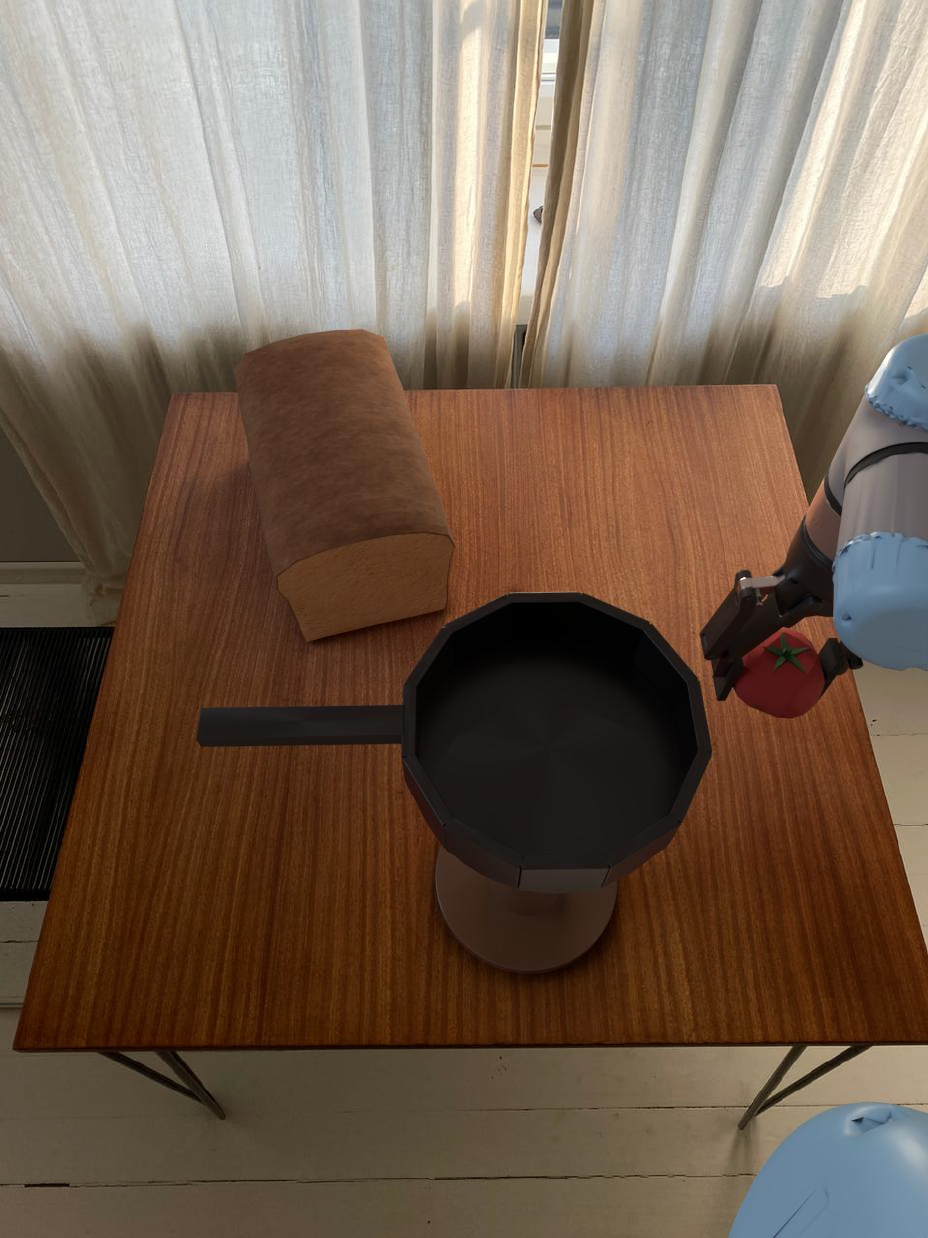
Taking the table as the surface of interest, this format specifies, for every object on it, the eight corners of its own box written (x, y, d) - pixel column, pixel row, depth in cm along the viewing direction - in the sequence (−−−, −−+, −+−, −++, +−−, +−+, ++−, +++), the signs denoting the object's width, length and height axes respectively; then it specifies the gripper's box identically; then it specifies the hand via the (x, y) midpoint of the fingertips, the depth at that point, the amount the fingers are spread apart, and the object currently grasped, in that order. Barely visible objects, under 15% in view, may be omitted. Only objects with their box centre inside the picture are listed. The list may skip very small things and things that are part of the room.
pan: (635, 983, 73) (733, 866, 46) (285, 988, 73) (172, 875, 46) (613, 785, 83) (683, 589, 55) (303, 790, 83) (219, 596, 55)
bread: (293, 650, 91) (262, 558, 78) (253, 447, 107) (221, 341, 93) (460, 610, 94) (458, 514, 80) (397, 418, 109) (386, 310, 96)
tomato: (710, 696, 81) (729, 656, 75) (752, 639, 84) (773, 597, 78) (788, 745, 78) (814, 708, 72) (828, 685, 82) (856, 644, 76)
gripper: (984, 492, 64) (866, 651, 83) (701, 496, 64) (648, 654, 83) (1020, 574, 60) (888, 722, 79) (719, 578, 60) (659, 725, 79)
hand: (765, 687), depth 81 cm, fingers closed on tomato, 8 cm apart
